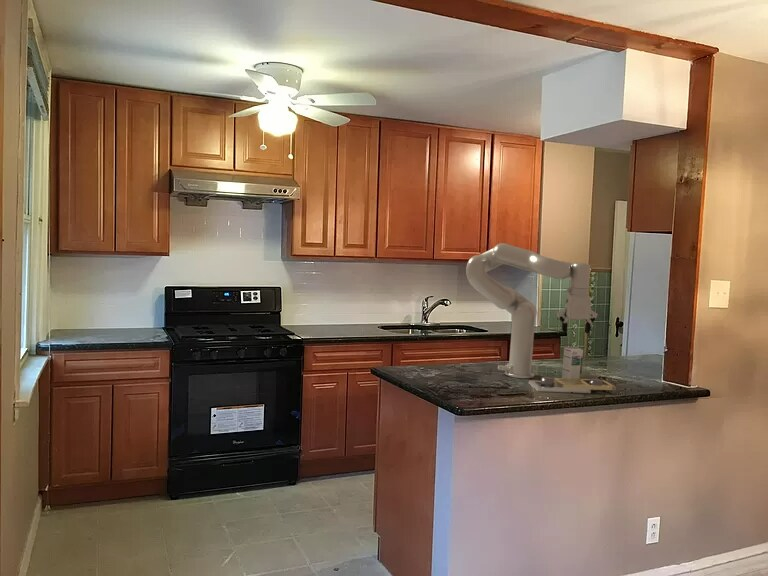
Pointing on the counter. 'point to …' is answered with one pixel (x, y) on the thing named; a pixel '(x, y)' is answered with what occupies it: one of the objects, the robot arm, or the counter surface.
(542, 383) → the steel end link
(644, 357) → the counter surface
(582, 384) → the brass end link
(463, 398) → the counter surface
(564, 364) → the syrup box
